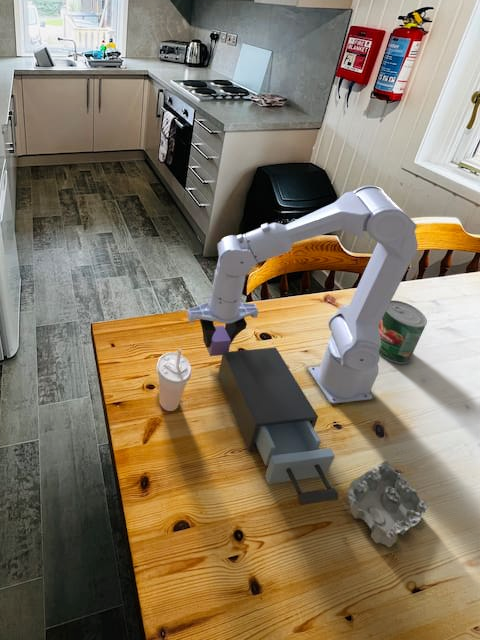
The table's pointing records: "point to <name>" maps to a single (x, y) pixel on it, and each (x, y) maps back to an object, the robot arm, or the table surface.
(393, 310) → the canned tomato
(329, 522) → the table surface
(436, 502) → the table surface
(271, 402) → the dark grey drawer box
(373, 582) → the table surface
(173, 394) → the smoothie
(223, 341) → the purple cube
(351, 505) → the egg carton
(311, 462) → the grey drawer
